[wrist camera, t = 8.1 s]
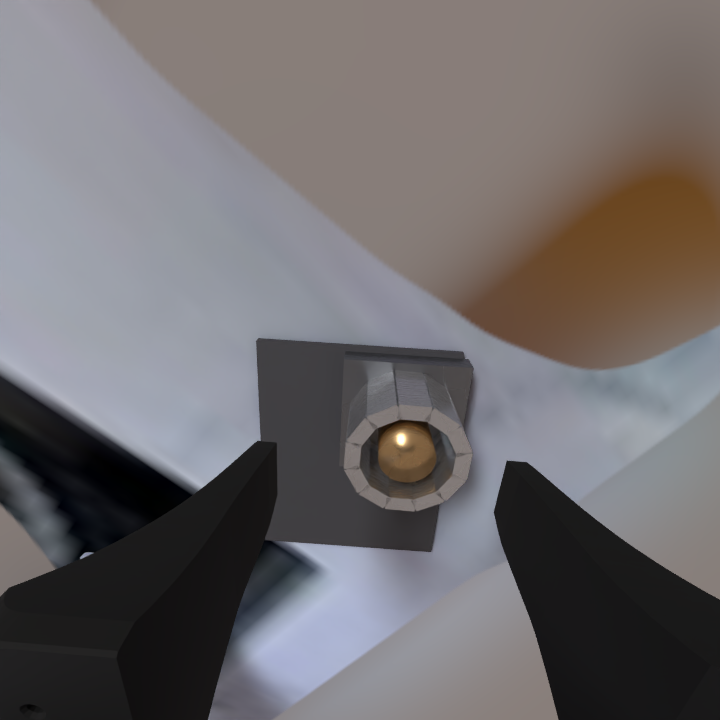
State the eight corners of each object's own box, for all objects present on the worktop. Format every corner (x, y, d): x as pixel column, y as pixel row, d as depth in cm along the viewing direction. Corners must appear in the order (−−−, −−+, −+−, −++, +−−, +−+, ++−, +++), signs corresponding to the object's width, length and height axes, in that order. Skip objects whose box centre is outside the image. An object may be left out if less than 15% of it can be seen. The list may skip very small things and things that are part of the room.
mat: (430, 547, 26) (431, 551, 26) (267, 535, 26) (265, 539, 26) (462, 351, 21) (464, 354, 20) (258, 338, 21) (256, 340, 21)
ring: (445, 467, 22) (458, 515, 18) (346, 458, 22) (340, 505, 18) (464, 376, 20) (482, 412, 16) (353, 366, 20) (349, 400, 16)
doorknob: (450, 461, 23) (467, 519, 19) (340, 453, 23) (333, 510, 19) (468, 359, 21) (492, 399, 16) (345, 350, 21) (337, 389, 16)
